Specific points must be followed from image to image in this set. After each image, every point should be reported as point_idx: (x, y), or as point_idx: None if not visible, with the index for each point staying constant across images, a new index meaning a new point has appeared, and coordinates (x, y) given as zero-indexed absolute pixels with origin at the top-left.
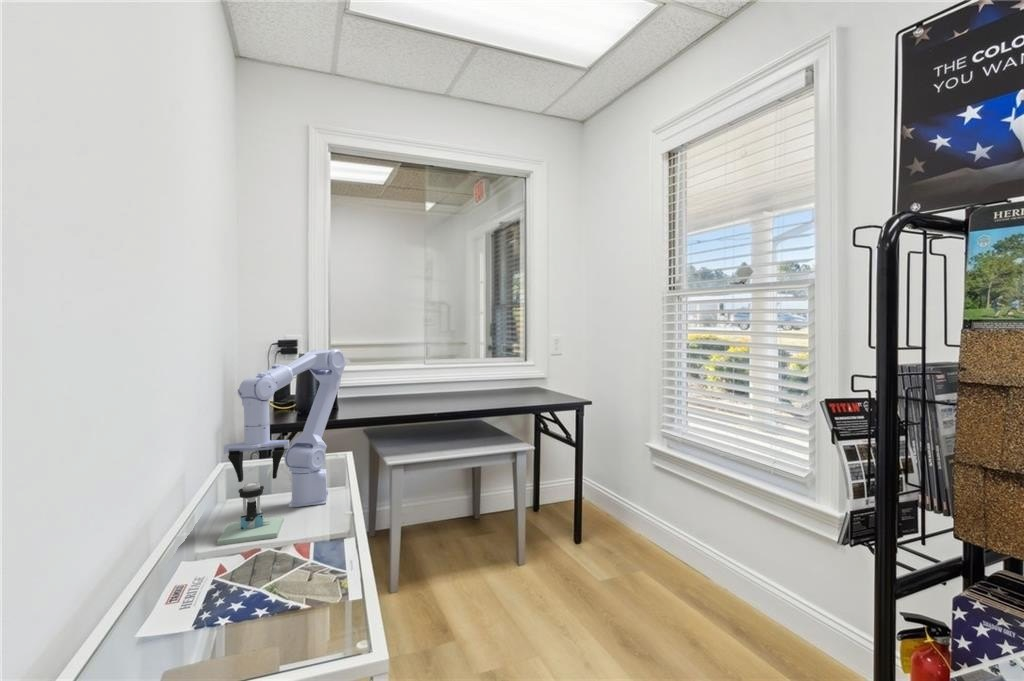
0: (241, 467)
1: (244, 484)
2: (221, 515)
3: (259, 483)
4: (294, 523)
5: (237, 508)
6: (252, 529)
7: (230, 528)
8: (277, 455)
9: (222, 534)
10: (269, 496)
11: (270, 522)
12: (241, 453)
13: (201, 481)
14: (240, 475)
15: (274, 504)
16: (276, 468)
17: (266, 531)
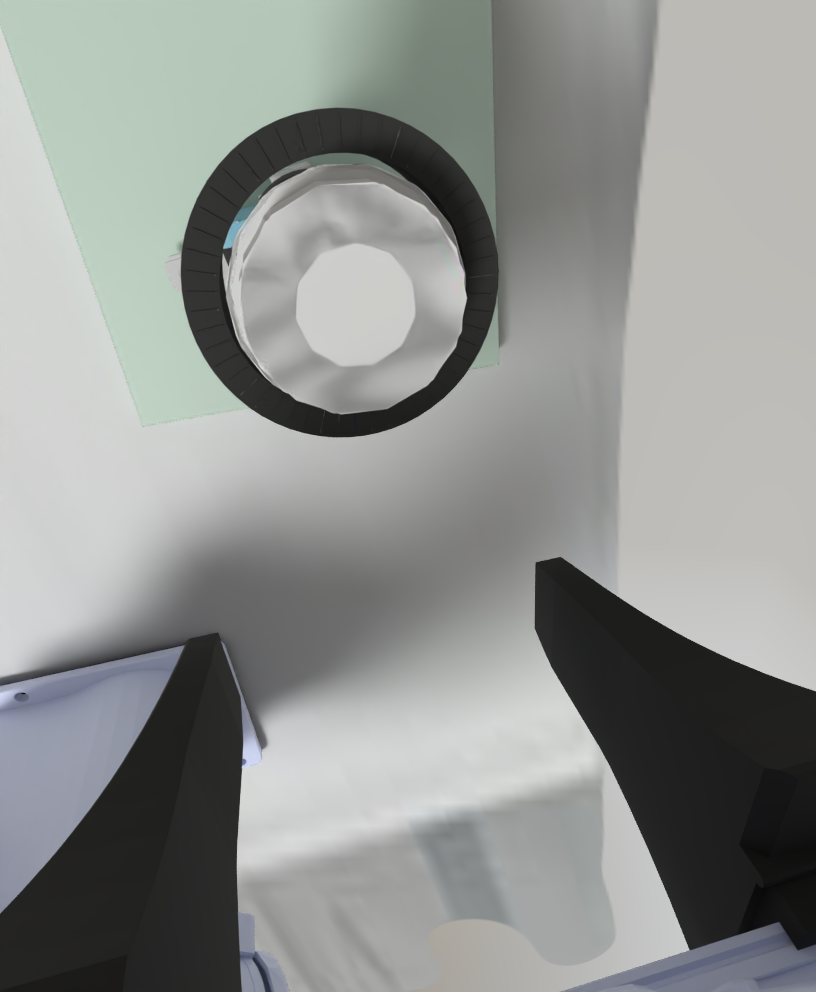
0: (610, 714)
1: (455, 336)
2: (582, 569)
3: (246, 335)
4: (16, 329)
5: (525, 658)
6: None
7: None
8: (38, 928)
9: (485, 84)
10: (413, 800)
11: None
12: (722, 913)
13: None
14: (574, 595)
15: (342, 700)
16: (144, 728)
17: (115, 37)
